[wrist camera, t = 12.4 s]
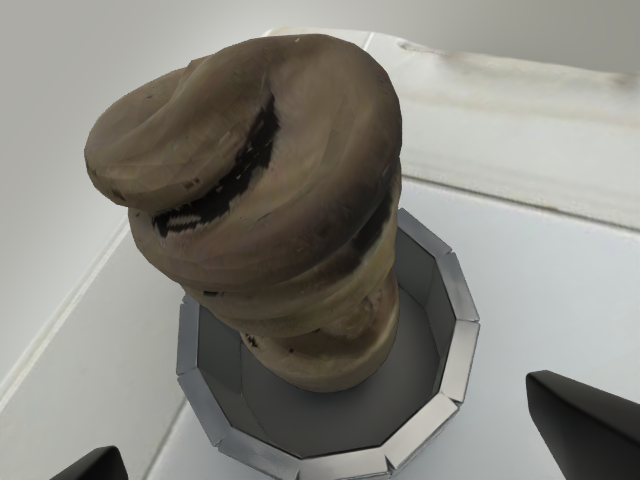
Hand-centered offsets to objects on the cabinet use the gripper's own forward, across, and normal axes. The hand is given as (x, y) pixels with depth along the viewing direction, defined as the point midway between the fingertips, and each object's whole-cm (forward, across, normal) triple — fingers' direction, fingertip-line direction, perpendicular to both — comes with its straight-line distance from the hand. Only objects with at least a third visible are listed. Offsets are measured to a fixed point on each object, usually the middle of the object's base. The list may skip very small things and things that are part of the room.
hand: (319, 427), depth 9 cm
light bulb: (+10, 0, +3) cm, 10 cm away
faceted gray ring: (+10, 0, +3) cm, 10 cm away
